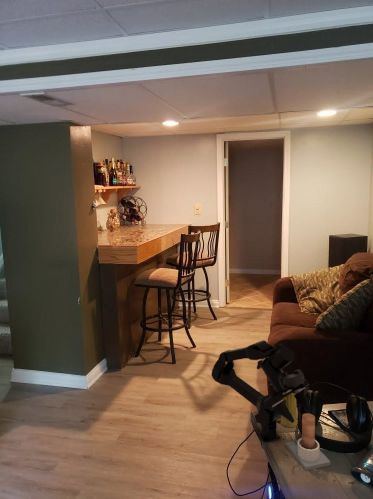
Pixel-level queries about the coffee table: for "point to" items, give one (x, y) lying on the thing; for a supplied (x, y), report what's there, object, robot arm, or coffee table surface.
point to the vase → (292, 408)
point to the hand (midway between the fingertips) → (301, 416)
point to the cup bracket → (307, 455)
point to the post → (308, 431)
